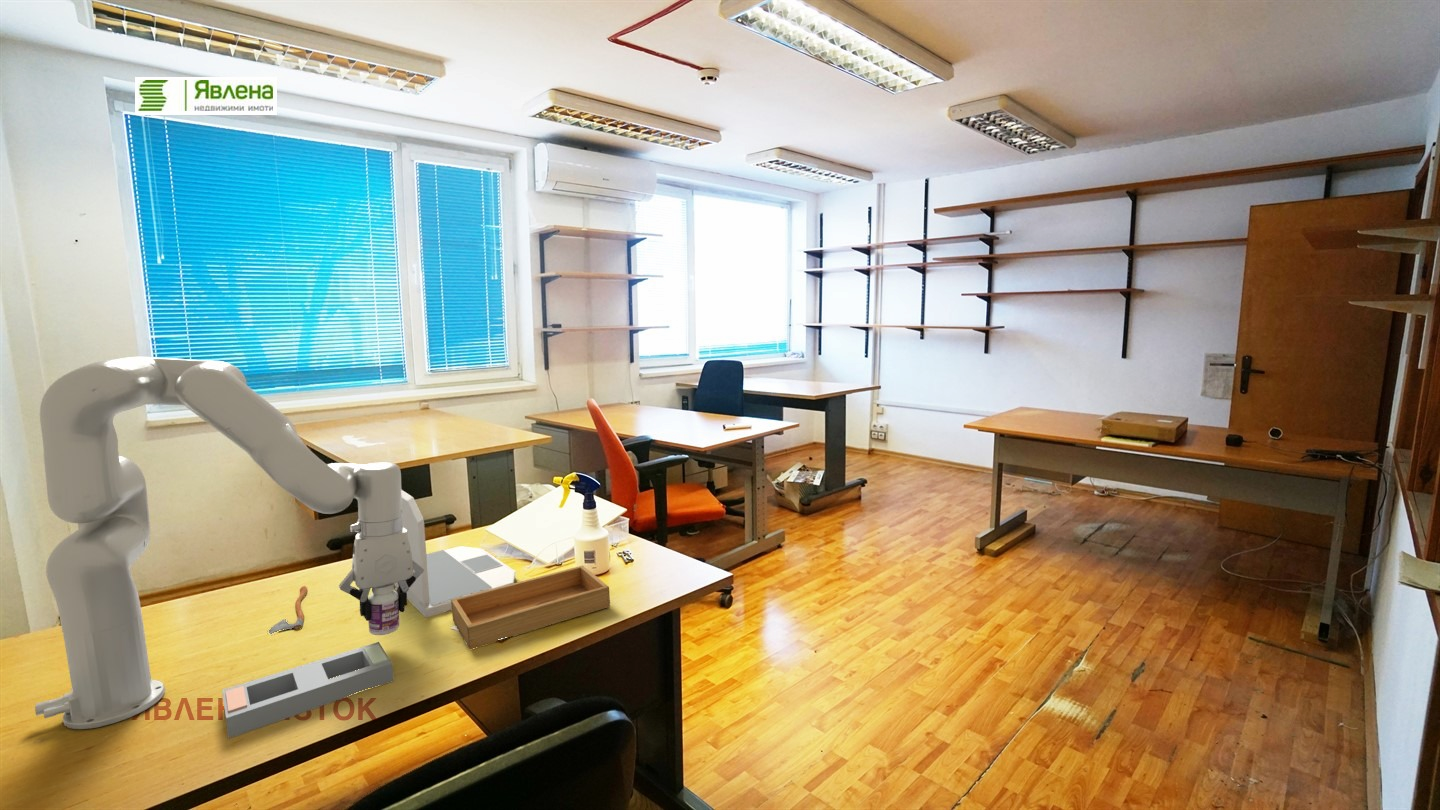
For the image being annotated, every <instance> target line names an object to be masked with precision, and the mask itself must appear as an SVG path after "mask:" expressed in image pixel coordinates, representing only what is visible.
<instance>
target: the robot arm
mask: <svg viewBox="0 0 1440 810" xmlns="http://www.w3.org/2000/svg"><path fill="white" fill-rule="evenodd" d="M146 405H156V406H157V405H159V406H160V405H162V406H163V405H164V406H166V405H167V406H185V407H186V408H187V409H188V410H190V411H191V412H192V413H193V414H195V415H196V416H198V417H199V418H200V419H201V420H203V421H204V422H206V423H207V424H209V425H210V426H211V427H212V428H214V429H215V430H216V431H218V432H219V433H220V434H222V435H223V436H224V437H226V438H227V439H229V441H231V442H232V443H234V444H235V445H236V446H238V447H239V448H240V449H241V450H243V451H244V452H246V453H247V454H248V455H249V456H250V458H251V459H252V460H253V462H255V464H256V465H258V466H259V467H260V469H262V470H263V471H264V472H265V473H266V474H267V475H268V477H269V478H271V479H272V481H274V483H276V484H277V485H278V486H280V488H282V489H283V490H284V491H285V492H287V493H288V494H290V495H291V496H292V497H294V498H295V499H297V500H298V501H299V502H301V503H302V504H303V505H305V506H306V507H308V508H309V509H310V510H313V511H315V512H316V513H321V514H326V515H327V514H328V515H332V514H333V515H334V514H337V513H340V512H342V511H344V510H345V509H347V508H348V507H349V506H350V505H351V504H352V502H353V499H356V500H357V508H358V509H357V510H358V511H357V514H358V516H357V517H358V519H357V521H356V523H354V524H350V526H349V529H350V532H351V533H353V532H355V533H357V534H356V535H355V537H354V538H355V539H354V543H353V549H352V550H353V551H352V561H351V562H352V563H351V570H350V571H349V572H348V574H347V575H346V576H345V577H344V578H343V580H342V581H341V582H340V583H339V584H338V588H339V591H340V590H341V591H342V592H344V593H347V594H348V595H350V596H352V597H353V598H355V599H356V600H359V614H360V617H363V618H364V619H365V621H367V622H369V620H370V619H371V607H370V600H369V596H370V595H369V594H370V591H371V590H372V588H374V587H379V586H383V585H388V584H392V583H398V585H399V587H398V588H397V587H396V590H395V591H396V592H397V593H398V595H399V613H400V612H401V613H404V612H405V611H406V610H405V606H407V605H408V599H407V591H408V590H409V588H410V586H411V585H412V584H413V583H414V582H415V581H416V579H417V578H418V577H419V576H420V575H421V574H422V573H423V572H424V569H423V568H422V567H421V566H419V565H418V564H417V563H416V562H414V561H413V560H412V552H411V545H410V539H409V535H408V531H407V530H406V529H405V528H403V525H402V495H401V490H402V473H401V468H400V466H399V465H398V464H396V463H393V462H389V461H383V462H382V461H381V462H379V461H378V462H371V463H367V464H362V463H361V464H360V463H359V464H358V463H348V462H347V463H346V462H345V463H344V462H334V463H333V462H331V463H326V462H324V461H323V459H320V458H319V457H318V456H317V455H316V454H315V453H314V452H313V451H311V449H310V448H309V447H308V446H307V445H306V444H305V443H304V442H303V440H302V439H301V437H300V436H299V433H298V432H297V430H296V428H295V426H294V425H293V423H292V421H291V420H290V419H289V418H288V417H287V416H286V415H285V414H284V413H282V411H280V410H279V409H277V408H276V407H275V406H274V405H273V404H271V403H270V402H269V401H267V400H266V399H264V398H263V396H261V395H260V394H259V393H257V392H256V391H255V390H253V389H252V387H250V386H248V383H247V379H246V377H245V374H244V373H243V372H242V370H240V369H239V368H238V367H237V366H235V365H234V364H232V363H229V362H225V361H221V360H209V359H207V360H205V359H204V360H203V359H201V360H200V359H184V358H169V357H168V358H165V357H153V356H152V357H149V356H126V357H120V358H112V359H104V360H100V361H96V362H93V363H90V364H87V365H83V366H80V367H79V368H75V369H74V370H71V371H69V372H67V373H65V374H64V375H62V376H61V377H59V378H57V379H56V380H55V381H54V382H53V383H52V384H50V386H49V387H48V388H47V389H46V391H45V393H44V394H43V396H42V398H41V402H40V406H39V423H40V430H41V437H42V447H43V463H44V472H45V482H46V494H47V496H46V497H47V501H48V505H49V508H50V510H51V511H52V513H53V514H54V515H55V516H56V517H57V518H59V519H60V520H62V521H64V522H67V523H70V524H77V527H78V529H77V530H75V531H74V532H73V533H71V534H69V535H68V536H67V537H65V538H64V539H62V540H61V541H60V542H59V543H58V544H57V545H56V546H55V548H54V549H53V550H52V551H51V553H50V555H49V556H48V558H47V562H46V565H45V568H46V569H45V573H46V579H47V582H48V585H49V588H50V590H51V592H52V594H53V597H54V600H55V602H56V603H55V604H56V607H57V611H58V614H59V618H60V619H59V620H60V624H61V632H62V634H63V641H64V642H63V643H64V647H65V652H66V659H67V665H68V671H69V678H70V683H71V690H70V692H67V693H64V694H63V695H62V696H61V697H58V698H54V699H48V700H45V701H40V702H37V703H35V706H34V711H35V715H36V716H37V717H38V716H40V715H41V716H42V715H43V718H44V719H47V718H51V717H54V716H57V715H59V714H63V715H62V721H63V724H64V726H65V727H66V726H67V727H66V728H68V729H73V730H89V729H95V728H101V727H104V726H108V725H112V724H116V723H118V722H121V721H124V720H127V719H129V718H132V717H134V716H136V715H138V714H140V713H142V712H145V711H146V710H148V709H149V708H151V707H153V706H154V705H155V704H157V703H158V702H159V701H160V700H161V699H162V698H163V697H164V695H165V692H166V691H165V690H166V688H165V683H164V682H162V681H160V680H157V679H152V675H151V670H150V662H149V654H148V648H147V642H146V634H145V627H144V620H143V613H142V607H141V601H140V597H139V592H138V588H137V586H136V583H135V581H134V578H133V575H132V572H131V567H132V565H134V563H135V562H136V561H137V560H138V559H140V557H142V554H143V553H145V551H146V549H147V548H148V546H149V544H150V539H151V525H150V523H151V522H150V512H149V503H148V492H147V484H146V483H147V482H146V479H145V476H144V473H143V472H142V469H141V468H140V467H139V466H138V464H136V462H134V461H132V460H131V459H129V458H127V457H125V456H122V455H120V454H119V453H120V452H119V440H118V439H119V438H118V434H117V431H116V428H115V425H114V418H115V416H116V415H118V414H119V413H122V412H126V411H129V410H132V409H137V408H139V407H142V406H146ZM353 582H354V583H355V586H356V587H357V588H356V587H355V586H352V583H353Z"/></svg>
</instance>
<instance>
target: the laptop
mask: <svg viewBox="0 0 1440 810" xmlns="http://www.w3.org/2000/svg"><path fill="white" fill-rule="evenodd" d="M401 495H402V525H403V528H405V529H406V530H407V531H408V535H409V539H410V545H411V552H412V560H413V561H414V562H416V563H417V564H418V565H419V566H421V567H422V568H423V569H424V572H423V573H422V574H421V575H420V576H419V577H418V578H417V579H416V581H415V582H414V583H413V584H412V585H411V586H410V588H409V590H408V591H407V601H409V602H410V603H411V604H412V606H414V608H416V609H417V611H419V613H421V615H422V616H423V617H424V618H430V617H432V616H433V617H434V616H437V615H439V614H443V613H445V612H449V611H452V604H451V599H455V598H459V597H463V596H467V595H470V594H474V593H478V592H482V591H486V590H490V589H494V588H498V587H502V586H505V585H509V584H513V583H515V580H516V579H515V578H516V572H517V571H516V570H515V569H513V568H511V567H510V566H509V565H507V564H505V563H504V562H502V561H501V560H499V559H498V558H497V557H495V556H493V555H492V554H491V553H489V552H487V551H486V550H484V549H483V548H479V547H471V546H463V545H461V546H454V547H452V548H448V549H442V550H438V551H434V552H430V553H427V546H426V545H427V544H426V533H425V532H426V531H425V521H424V520H425V519H424V517H423V514H422V512H421V511H420V509H419V506H418V504H417V501H416V500H415V498H414V497H413V496H412V495H410V494H409V493H407V492H406V491H404V490H403V489H401ZM398 587H399V585H398V583H395V588H396V589H397V588H398Z"/></svg>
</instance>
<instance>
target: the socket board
mask: <svg viewBox="0 0 1440 810" xmlns="http://www.w3.org/2000/svg"><path fill="white" fill-rule="evenodd" d="M393 667H394V666H393V662H392V660H391V658H390V657H389V656H388V654H387V652H386V651H385V650H384V648H383V646H382V645H381V643H380V641H377V642H374V643H370V644H367V645H362V646H360V647H356V648H354V649H350V650H347V651H344V652H341V653H338V654H334V655H331V656H328V657H325V658H322V659H318V660H314V661H312V662H309V663H308V662H307V663H306V664H301V665H299V666H296V667H292V668H289V669H285V670H283V671H279V672H276V673H273V674H269V675H267V676H263V677H260V678H257V679H254V680H253V679H252V680H249V681H247V682H244V683H240V684H237V685H234V686H230V687H228V688H225V689H224V688H222V691H221V692H222V700H223V706H224V707H223V708H224V714H225V723H226V728H227V736H228V739H231V738H234V737H236V736H239V735H242V734H244V733H248V732H250V731H254V730H257V729H260V728H262V727H265V726H269V725H271V724H273V723H277V722H280V721H283V720H285V719H289V718H292V717H294V716H297V715H300V714H302V713H307V712H308V711H311V710H314V709H317V708H320V707H322V706H325V705H328V704H331V703H334V701H335V702H337V701H339V699H340V700H342V699H341V698H343V699H345V698H344V697H346V698H348V697H347V696H349V695H351V694H354V693H356V692H359V691H362V690H365V689H368V688H372V687H375V686H378V685H380V686H383V685H386V684H389V683H392V682H394V681H395V678H394V670H393V669H394V668H393ZM358 669H359V670H358ZM355 670H356V671H355ZM339 675H340V676H339ZM336 676H337V677H336ZM333 677H334V678H333ZM330 678H331V679H330ZM385 683H386V684H385ZM382 684H383V685H382ZM378 687H379V686H378ZM375 688H376V687H375ZM372 689H373V688H372ZM349 697H350V696H349ZM336 700H337V701H336Z"/></svg>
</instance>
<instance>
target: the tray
mask: <svg viewBox="0 0 1440 810" xmlns="http://www.w3.org/2000/svg"><path fill="white" fill-rule="evenodd" d="M610 599H611V597H610V586H609V585H608V584H606V583H605V582H604V581H603V580H601V579H600V578H599V577H598V576H596V575H595V573H593V572H592V571H590V570H589V569H588V568H587V567H585V566H584V565H579V566H575V567H572V568H568V569H564V570H561V571H560V570H559V571H556V572H553V573H552V572H551V573H548V574H545V575H541V576H536V577H533V578H529V579H526V580H522V581H518V582H514V583H513V584H509V585H505V586H502V587H498V588H494V589H490V590H486V591H482V592H478V593H474V594H470V595H467V596H463V597H459V598H455V599H451V604H452V610H451V615H452V616H451V617H452V621H453V622H454V623H453V624H454V625H455V626H457V627H456V628H457V630H458V629H459V630H458V631H459V633H460V634H461V635H460V636H461V637H462V638H463V640H464V642H465V643H467V644H466V645H467V647H468V649H469V650H470V649H472V650H474V649H473V648H475V649H477V648H476V647H478V648H481V647H483V645H485V646H487V645H486V644H488V645H491V644H494V643H496V642H495V641H497V640H498V639H501V638H505V637H510V636H513V637H516V636H515V635H517V636H520V635H522V634H527V633H529V632H532V631H531V630H533V631H536V630H539V629H541V628H545V627H548V625H549V626H551V624H552V625H555V624H558V623H561V621H562V622H564V620H565V621H568V620H571V619H575V618H578V617H580V616H584V615H587V613H588V614H590V612H591V613H594V612H598V611H601V610H604V609H607V608H610V606H611V600H610ZM593 611H594V612H593ZM557 622H558V623H557ZM554 623H555V624H554ZM538 628H539V629H538ZM535 629H536V630H535ZM519 634H520V635H519ZM510 638H511V637H510ZM493 642H494V643H493ZM497 642H498V641H497ZM490 643H491V644H490ZM480 646H481V647H480Z"/></svg>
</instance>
